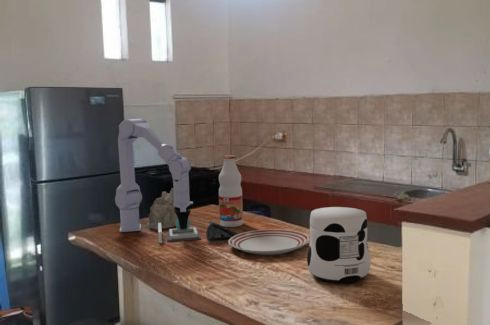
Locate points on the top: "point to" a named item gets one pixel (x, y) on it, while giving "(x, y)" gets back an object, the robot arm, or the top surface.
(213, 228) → the chocolate cake
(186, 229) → the ball
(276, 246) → the dinner plate
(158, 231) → the wall
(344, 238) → the milk container
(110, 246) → the top surface
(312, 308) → the top surface
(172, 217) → the jagged rock
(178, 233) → the mat
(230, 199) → the fruit juice
